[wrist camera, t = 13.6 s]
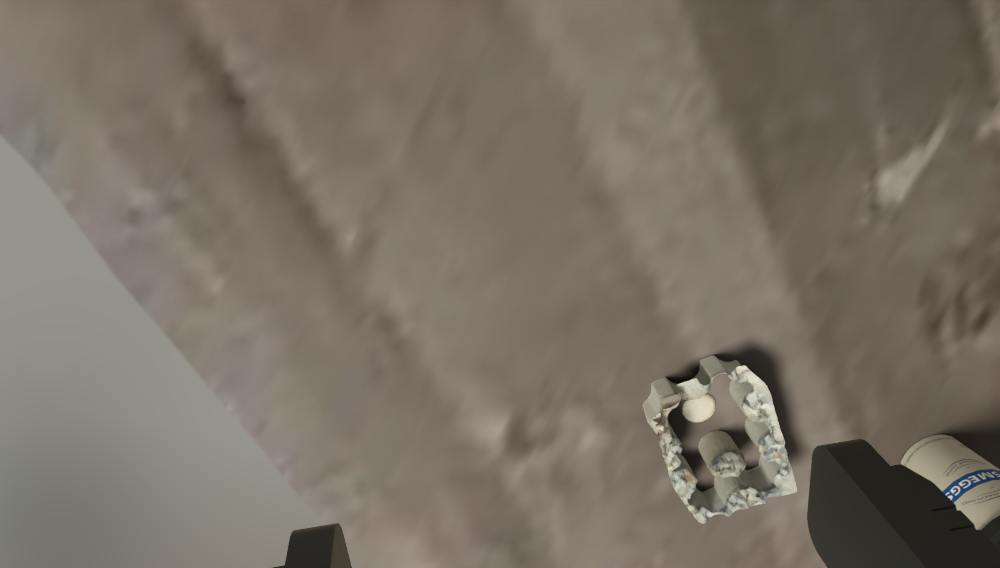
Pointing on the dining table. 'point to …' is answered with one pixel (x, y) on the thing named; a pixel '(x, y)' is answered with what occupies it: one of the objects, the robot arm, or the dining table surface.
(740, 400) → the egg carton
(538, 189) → the dining table surface
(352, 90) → the dining table surface
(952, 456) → the coffee cup
